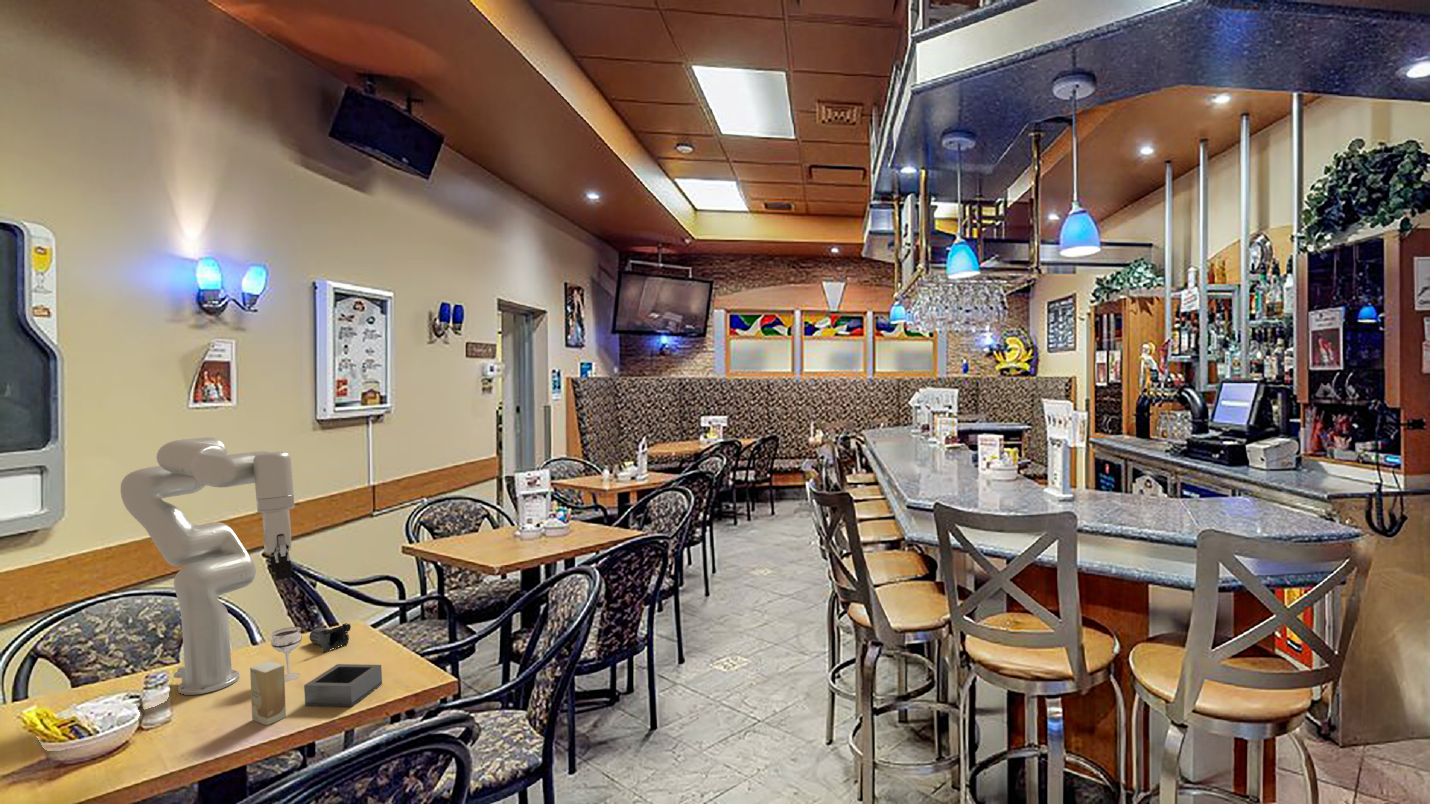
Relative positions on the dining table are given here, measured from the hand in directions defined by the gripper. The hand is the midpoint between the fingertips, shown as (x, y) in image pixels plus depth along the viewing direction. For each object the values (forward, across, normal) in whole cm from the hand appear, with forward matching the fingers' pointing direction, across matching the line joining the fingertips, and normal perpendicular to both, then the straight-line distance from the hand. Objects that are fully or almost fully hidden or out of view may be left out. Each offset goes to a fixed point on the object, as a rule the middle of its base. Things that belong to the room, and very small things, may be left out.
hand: (281, 574), depth 163 cm
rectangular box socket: (+31, +6, +10) cm, 33 cm away
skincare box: (+31, +8, -5) cm, 32 cm away
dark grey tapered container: (+30, -34, +12) cm, 47 cm away
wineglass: (+30, -16, +1) cm, 34 cm away
